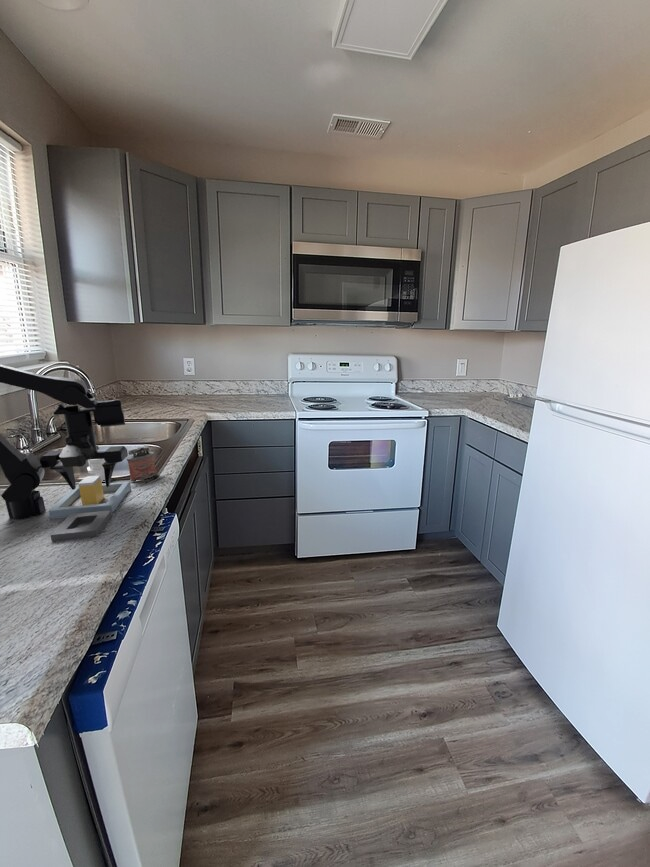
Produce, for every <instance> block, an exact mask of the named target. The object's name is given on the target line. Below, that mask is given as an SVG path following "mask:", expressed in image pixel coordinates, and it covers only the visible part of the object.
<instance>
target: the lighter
mask: <svg viewBox="0 0 650 867" xmlns="http://www.w3.org/2000/svg"><path fill="white" fill-rule="evenodd" d="M127 453H128V456H129V457H128V456H127V457H126V461H127V463H128V471H129V476H130V478H131V479H130V478H129V481H130V480H131V481H136V480H139V479H142V478H146V477H149V476H152V475H155V474H157V471H156V464H155V459H154V455H155V453H154V452H153V451H150V447H149V446H148V445H147V446H144V447H142V446H138V447H137V448H132V449H128V450H127Z"/></svg>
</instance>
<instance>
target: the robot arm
mask: <svg viewBox="0 0 650 867" xmlns="http://www.w3.org/2000/svg"><path fill="white" fill-rule="evenodd" d="M0 383H1V384H5V385H9V386H13V387H18V388H20V389H21V388H22V389H25V390H30V391H34V392H38V393H41V394H44V395H45V396H48V397H49V398H51V399H54V400H56V401H59V402H61V403H59V405H58V407H57V408H56V409H55V410H54V411H53V412H52V413H53V415H54V416H59V415H60V416H61V415H63V418H64V423H65V429H66V434H67V436H65V446H64V447H63V448H62V449H59V450H57V449H55V450H49V451H48V452H46V453H45V454H43V455H41V457H40V459H38V458H37V456H36V455H35V454H34V453H33V452H32V451H29V452H28V453H27V454H25V453H23V452H21V451H18V450H17V449H16V447H15V446H13V445H12V444H11V443H10V441H8V440H7V439H6V438H5V437H4V436H3V435H2V434H1V433H0V468H1V470H2V472H3V475H4V476H5V478H6V479H7V481H8V483H9V484H8V486H7V487H6V488H5V490H4V491H3V492H2V493H1V495H0V496H1V498H2V499H3V500H4V502H5V506H6V510H7V513H8V518H9V519H12V520H13V519H14V520H25V519H30V518H33V517H38V516H42V515H43V514H44V513H45V512H46V505H45V501H44V497H43V496H42V495H41V491H40V490H36V489H37V488H38V487H39V485H40V484H41V482H42V480H43V479H44V476H45V470H46V469H45V468H49V470H51V471H55V472H58V473H59V474H60V475H61V476H62V477H63V479H64V480H65V481H66V483H67V484H68V485H69V487H70V488H71V490H74V489H75V488H76V486H77V485H76V479H75V472H74V467H75V468H76V467H77V468H80V467H83V466H85V465H86V463H87V461H88V460H91V459H104V460H105V462H104V463H103V464H102V466H103V468H104V473H105V483H106V487H108V486H109V485H110V483H111V481H112V476H113V474H114V473H113V472H114V469H115V467H116V465H117V464H118V463H121V462H123V461H124V460H125V459H127V458H128V456H129V453H128V448H126V447H125V445H120V446H119V445H118V446H109V447H108V448H107V449H106V450H103V451H102V450H101V451H99V449H100V448H99V445H97V443H96V442H97V441H96V435H97V430H96V429H95V430H94V425H98V426H100V428H109V427H117V426H125V425H126V419H125V418H126V417H125V413H124V409H123V406H122V401H121V398H114V399H111V400H98V399H97V398H96V397H95V396H93V394H91V393H90V392H89V390H88V388H87V385H86V384H85V382H84V381H83V380H81V379H79V378H73V377H63V376H49V375H43V374H39V373H36V372H31V371H27V370H23V369H20V368H16V367H13V366H8V365H5V364H1V363H0ZM63 403H64V404H63ZM65 404H66V405H65ZM91 412H92V413H93V419H92V413H91ZM93 420H94V425H93Z"/></svg>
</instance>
